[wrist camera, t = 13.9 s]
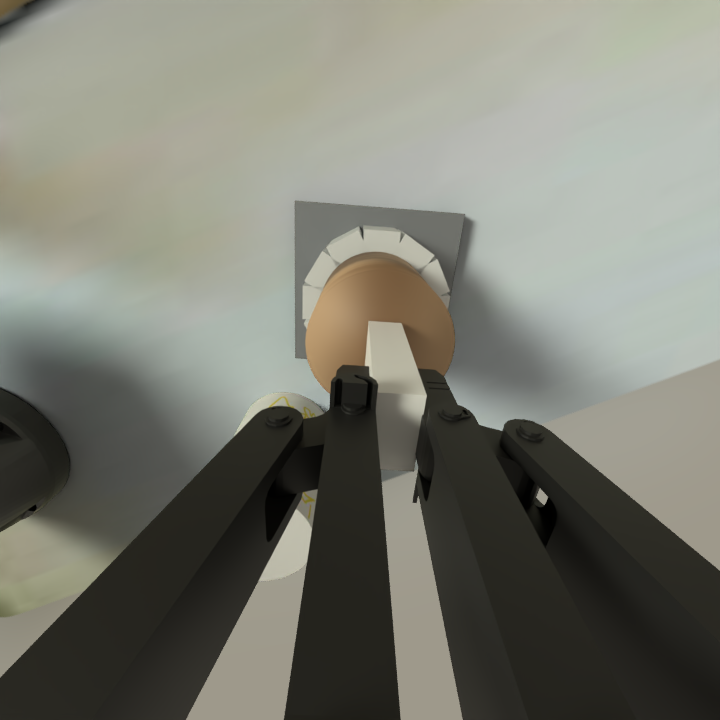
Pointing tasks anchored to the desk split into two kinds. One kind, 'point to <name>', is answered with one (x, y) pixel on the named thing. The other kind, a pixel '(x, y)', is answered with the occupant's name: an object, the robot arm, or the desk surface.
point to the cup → (298, 531)
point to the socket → (368, 248)
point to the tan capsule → (376, 315)
